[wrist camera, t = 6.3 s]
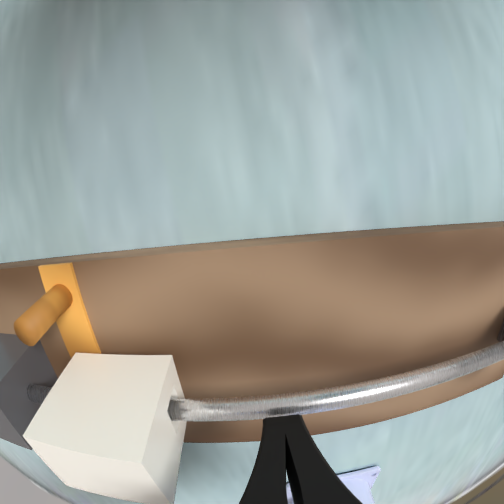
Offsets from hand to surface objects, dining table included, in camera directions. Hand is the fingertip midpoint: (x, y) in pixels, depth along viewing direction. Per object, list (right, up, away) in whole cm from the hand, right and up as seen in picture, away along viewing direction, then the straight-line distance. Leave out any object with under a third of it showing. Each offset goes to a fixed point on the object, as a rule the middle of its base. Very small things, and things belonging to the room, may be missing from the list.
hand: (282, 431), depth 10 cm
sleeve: (-7, 0, +3) cm, 7 cm away
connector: (-15, 0, +5) cm, 15 cm away
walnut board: (0, +2, +5) cm, 5 cm away
